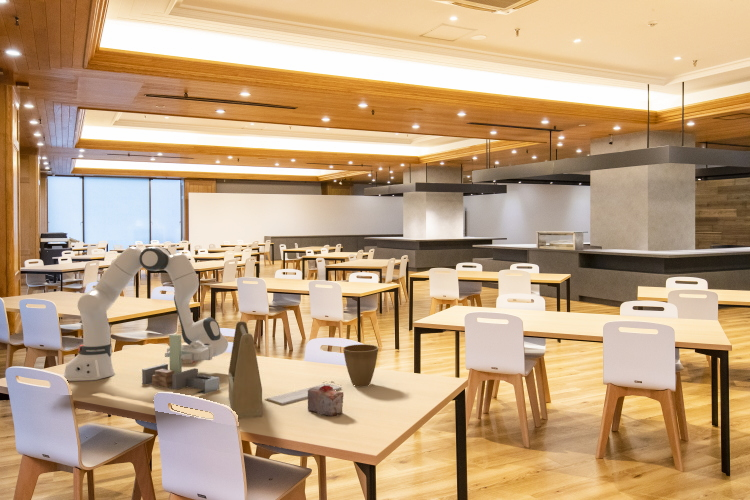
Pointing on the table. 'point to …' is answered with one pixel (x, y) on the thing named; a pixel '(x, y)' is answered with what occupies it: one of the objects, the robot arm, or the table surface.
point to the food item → (325, 400)
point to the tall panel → (175, 353)
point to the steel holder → (204, 383)
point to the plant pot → (360, 363)
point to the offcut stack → (163, 378)
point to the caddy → (244, 375)
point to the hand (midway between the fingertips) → (173, 356)
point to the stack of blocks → (186, 359)
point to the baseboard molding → (296, 395)
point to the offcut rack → (177, 378)
